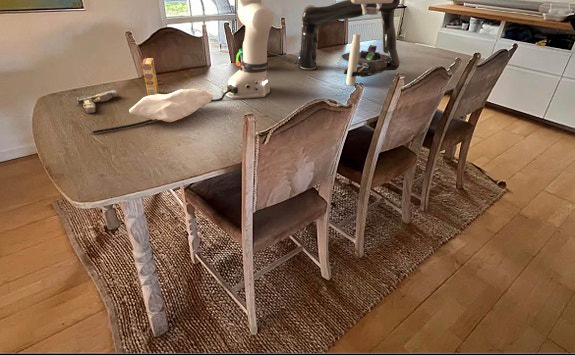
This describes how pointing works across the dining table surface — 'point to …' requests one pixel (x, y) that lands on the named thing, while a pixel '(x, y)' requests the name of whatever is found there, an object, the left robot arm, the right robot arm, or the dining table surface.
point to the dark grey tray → (367, 55)
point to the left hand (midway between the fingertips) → (370, 14)
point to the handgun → (95, 100)
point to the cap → (371, 11)
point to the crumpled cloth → (171, 104)
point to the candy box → (150, 76)
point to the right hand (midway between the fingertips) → (348, 73)
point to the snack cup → (240, 55)
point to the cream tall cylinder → (353, 59)
